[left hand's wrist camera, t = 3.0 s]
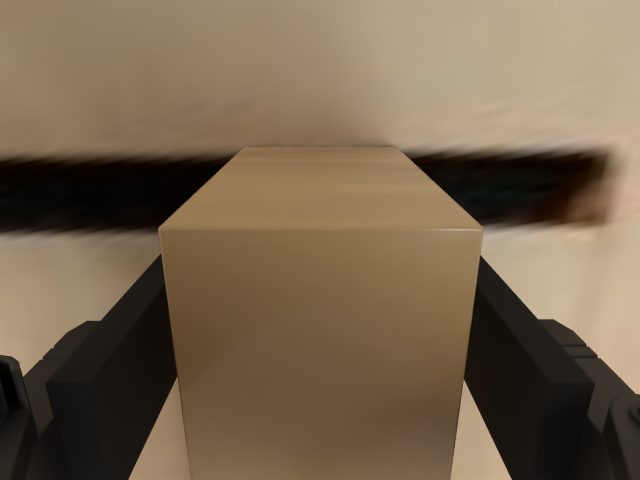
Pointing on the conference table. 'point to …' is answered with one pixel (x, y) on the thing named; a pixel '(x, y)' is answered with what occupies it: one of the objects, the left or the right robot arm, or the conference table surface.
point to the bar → (320, 316)
